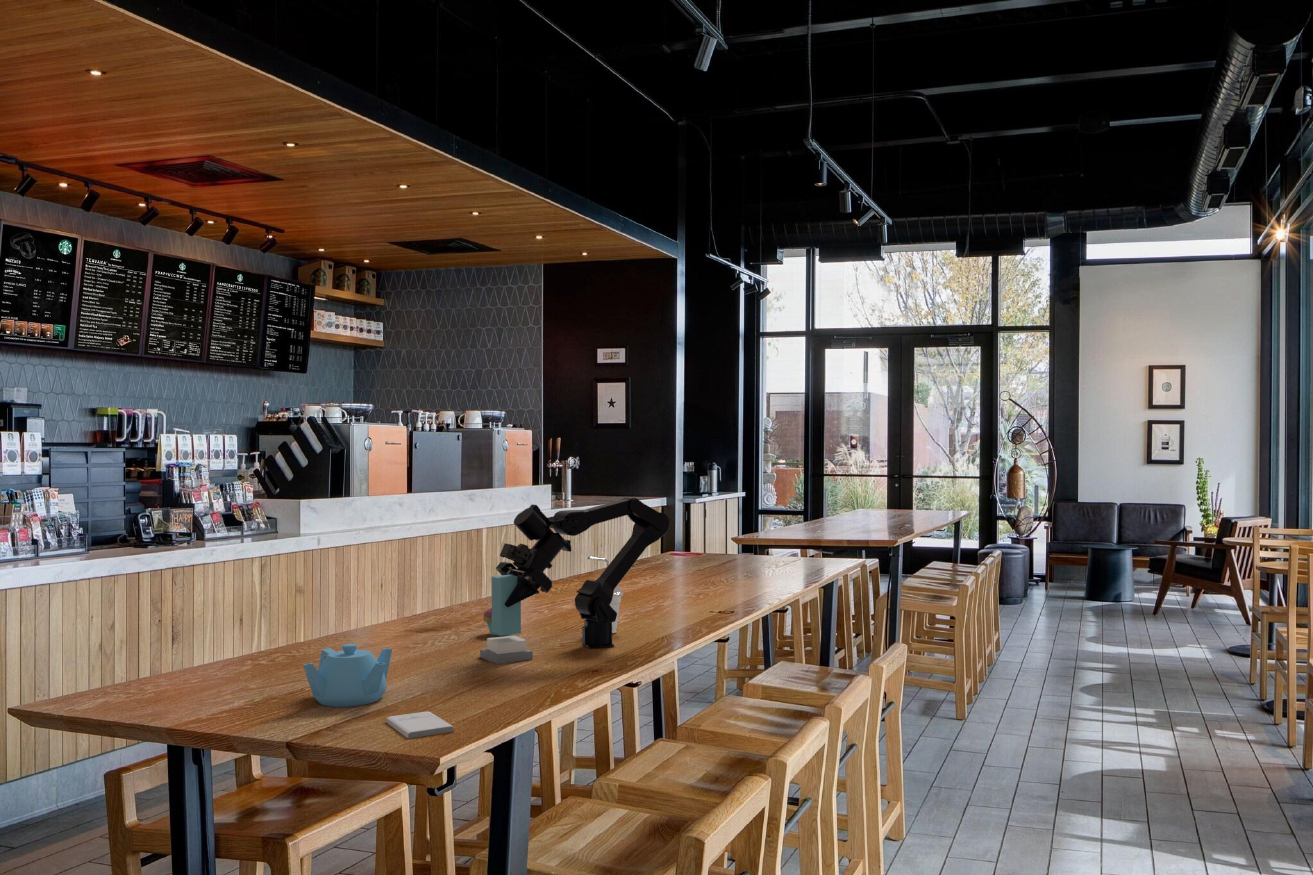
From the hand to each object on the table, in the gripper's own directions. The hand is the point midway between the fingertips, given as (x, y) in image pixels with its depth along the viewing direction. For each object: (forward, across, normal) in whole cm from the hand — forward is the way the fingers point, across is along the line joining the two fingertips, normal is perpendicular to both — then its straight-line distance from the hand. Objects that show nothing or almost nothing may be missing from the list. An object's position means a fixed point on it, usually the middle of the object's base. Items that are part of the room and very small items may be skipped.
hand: (500, 604), depth 246 cm
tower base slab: (+8, 0, +10) cm, 13 cm away
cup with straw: (-18, -14, +36) cm, 42 cm away
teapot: (+38, +18, -20) cm, 47 cm away
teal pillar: (+4, 0, +6) cm, 7 cm away
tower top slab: (+7, 0, +8) cm, 11 cm away
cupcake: (-1, -29, +19) cm, 34 cm away
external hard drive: (+36, +44, -17) cm, 60 cm away
